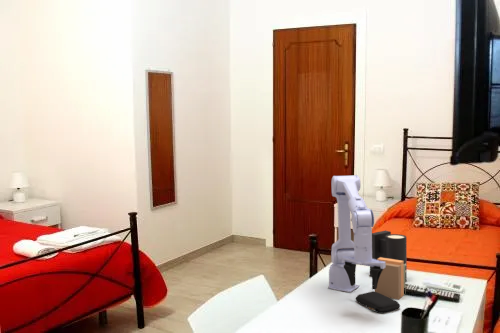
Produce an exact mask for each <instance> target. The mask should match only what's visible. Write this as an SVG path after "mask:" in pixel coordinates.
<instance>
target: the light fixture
mask: <svg viewBox="0 0 500 333" xmlns="http://www.w3.org/2000/svg"><path fill="white" fill-rule="evenodd" d="M407 255H408V253H407V236H406V235H404V234H399V233H392V232H391V230H387V229H385V230H381V231H376V232H372V259H376V260H377V259H378V258H380V257H381V258H388V259H395V260H402V261H404V264H405V283H406V282H407V280H408V278H407V275H408V274H407V272H408V271H407V270H408V269H407V268H408V267H407V262H408V261H407ZM372 268H374V267H371V266H369V277H370V278H372V275H371V269H372Z"/></svg>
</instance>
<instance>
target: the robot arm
mask: <svg viewBox="0 0 500 333" xmlns="http://www.w3.org/2000/svg"><path fill="white" fill-rule="evenodd" d="M330 183H331V196H332V197H334V198H335V199H336V202H337V225H338V226H337V229H338V239H337V240H336V241H335V242H334V243H332V245H331V252H330V253H331V254H330V256H331V265H330V266H329V269H328V289H330V290H331V289H332V290H337V291H341V292H346V293H352V292H353V291H355V290H356V289H358V288H359V287H360V285H359V284H356V270H357V266H359V265H360V266H364V267H370V266H371V267H374V268H372V269H371V275H372V277H371V288H372V290H374V291H375V289H376V288H377V284H378V280H379V277H380V275H381V273H382V271H383V269H384V268H385V267H386V263H385V262H384V261H379V260H376V259H372V233H373V230H372V228H373V227H374V225H375V215H374V212H373V209H372V208H371V209H370V208H368V205H367V203H366V201H365V199H364V198H363V197H362V196H360V194H359V191H360V189H361V178H360V176H359V175H357V174H354V175H333V176H332V178H331V182H330ZM351 225H352V228H351ZM351 229H352V230H351ZM352 232H353V240H352Z"/></svg>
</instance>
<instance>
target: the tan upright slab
mask: <svg viewBox="0 0 500 333" xmlns="http://www.w3.org/2000/svg"><path fill="white" fill-rule="evenodd" d="M377 260H379V261H384V262H385V263H386V267H385V268H384V269H383V271H382V273H381V275H380V277H379V280H378V284H377V288H376V289H375V290H374V292H377V293H380V294H382V295H384V296H387V297H389V298H391V299H393V300H400V299H402V298H403V297H404V295H405V294H404V288H405V289H406V282H405V264H404V261H402V260H395V259H388V258H381V257H380V258H378V259H377Z"/></svg>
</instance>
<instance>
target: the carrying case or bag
mask: <svg viewBox="0 0 500 333" xmlns="http://www.w3.org/2000/svg"><path fill="white" fill-rule="evenodd" d="M355 301H356V302H357V303H359V304H360V305H362V306H364V307H366V308H368V309H369V310H370V311H374V312H376V313H379V314H386V313H390V312H394V311H397V310H399V309H400V308H401V305H400V303H399V302H398V301H397V300H396V299H393V298H389V297H387V296H384V295H382V294H380V293H377V292H375V291H368V292H364V293H360V294H358V295H357V296H355Z"/></svg>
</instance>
